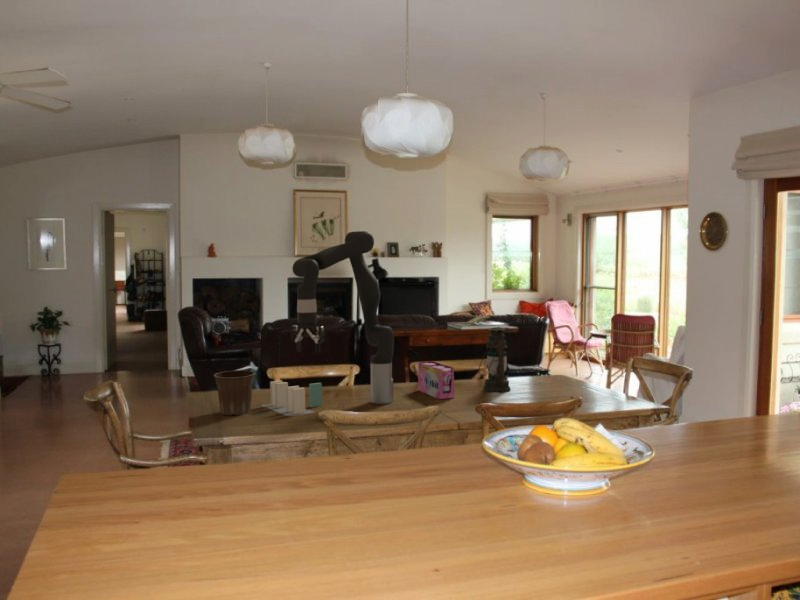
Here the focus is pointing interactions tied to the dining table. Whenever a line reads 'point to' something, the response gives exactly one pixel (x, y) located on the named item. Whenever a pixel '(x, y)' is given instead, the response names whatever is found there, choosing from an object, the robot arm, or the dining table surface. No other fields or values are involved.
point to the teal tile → (315, 394)
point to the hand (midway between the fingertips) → (308, 352)
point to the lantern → (496, 362)
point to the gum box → (436, 379)
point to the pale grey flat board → (285, 410)
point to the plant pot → (235, 391)
